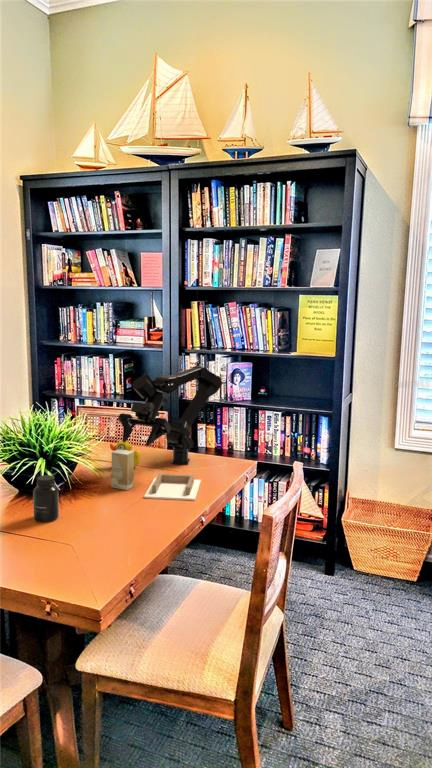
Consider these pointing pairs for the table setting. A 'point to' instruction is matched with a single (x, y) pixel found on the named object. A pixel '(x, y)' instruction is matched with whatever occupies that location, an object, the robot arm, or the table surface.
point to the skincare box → (122, 469)
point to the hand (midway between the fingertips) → (134, 443)
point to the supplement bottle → (46, 499)
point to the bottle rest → (173, 487)
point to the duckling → (127, 447)
